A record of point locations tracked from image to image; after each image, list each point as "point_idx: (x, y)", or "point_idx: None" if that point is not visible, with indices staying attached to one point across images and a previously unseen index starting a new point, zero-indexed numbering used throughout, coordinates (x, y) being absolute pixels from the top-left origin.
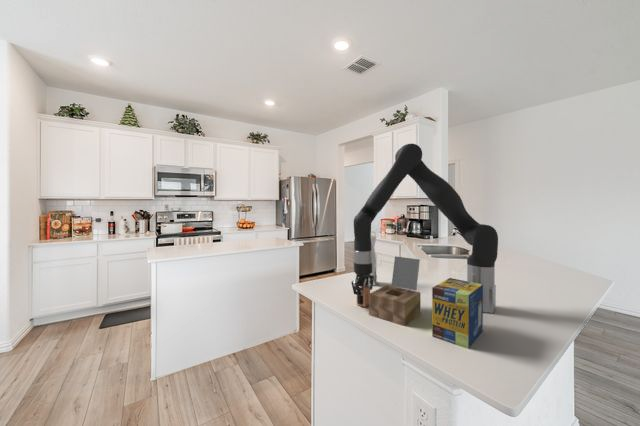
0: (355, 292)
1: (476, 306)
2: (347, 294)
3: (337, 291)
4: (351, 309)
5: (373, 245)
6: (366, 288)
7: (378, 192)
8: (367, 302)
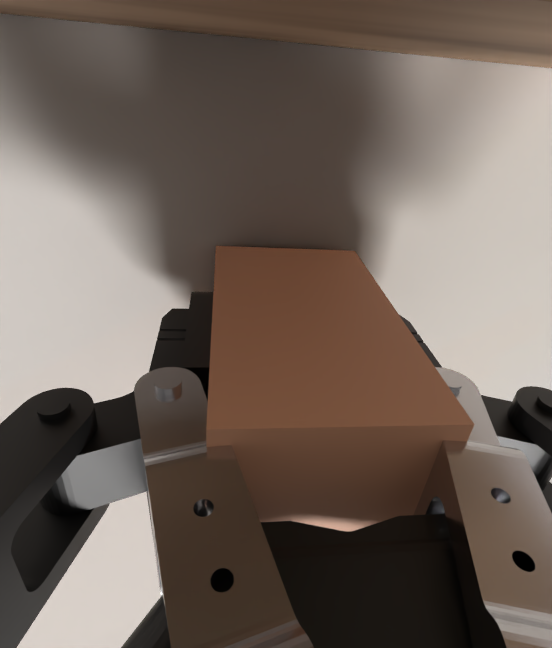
0: (547, 477)
1: None
2: (115, 549)
3: (121, 618)
4: (472, 336)
5: None
6: (360, 440)
7: None
8: (298, 265)
